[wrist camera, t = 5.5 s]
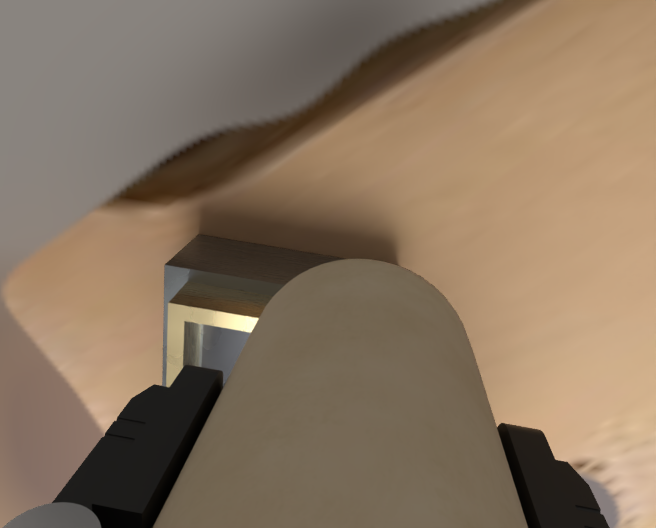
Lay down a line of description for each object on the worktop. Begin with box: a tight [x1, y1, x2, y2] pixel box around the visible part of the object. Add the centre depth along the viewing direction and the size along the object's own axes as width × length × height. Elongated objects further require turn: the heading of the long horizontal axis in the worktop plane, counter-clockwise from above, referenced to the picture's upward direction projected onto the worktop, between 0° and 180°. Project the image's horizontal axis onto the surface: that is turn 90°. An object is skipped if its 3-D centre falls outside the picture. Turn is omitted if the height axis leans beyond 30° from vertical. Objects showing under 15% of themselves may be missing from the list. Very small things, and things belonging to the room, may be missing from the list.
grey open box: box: [162, 234, 345, 387], centre depth 28 cm, size 12×11×8 cm
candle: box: [152, 259, 528, 528], centre depth 8 cm, size 6×6×10 cm
